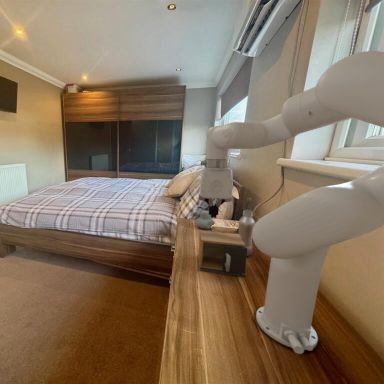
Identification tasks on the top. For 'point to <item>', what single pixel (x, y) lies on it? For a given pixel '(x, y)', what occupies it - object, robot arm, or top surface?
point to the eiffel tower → (246, 209)
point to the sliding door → (234, 259)
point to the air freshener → (204, 220)
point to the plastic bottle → (247, 229)
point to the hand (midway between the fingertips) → (213, 216)
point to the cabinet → (216, 250)
